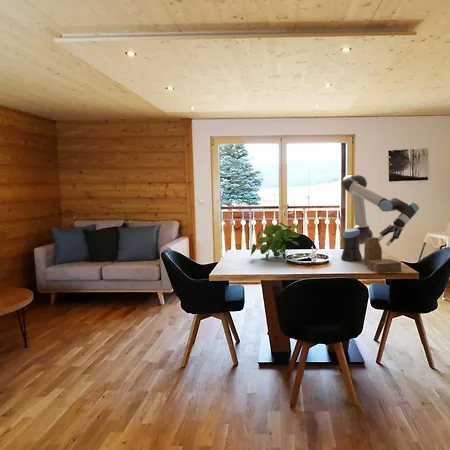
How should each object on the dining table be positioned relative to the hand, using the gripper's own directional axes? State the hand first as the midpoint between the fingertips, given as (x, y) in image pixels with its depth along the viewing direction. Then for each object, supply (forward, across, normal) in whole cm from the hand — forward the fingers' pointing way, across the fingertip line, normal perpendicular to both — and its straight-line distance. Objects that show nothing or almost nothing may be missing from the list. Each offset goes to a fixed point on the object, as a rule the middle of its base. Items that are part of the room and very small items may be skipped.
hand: (381, 243), depth 286 cm
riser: (+16, -15, -6) cm, 22 cm away
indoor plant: (+54, +46, +33) cm, 79 cm away
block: (+15, +1, -7) cm, 17 cm away
